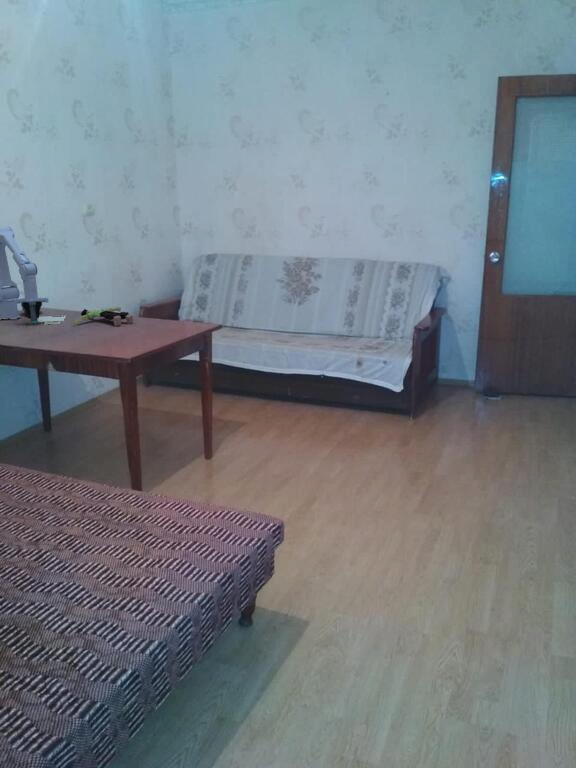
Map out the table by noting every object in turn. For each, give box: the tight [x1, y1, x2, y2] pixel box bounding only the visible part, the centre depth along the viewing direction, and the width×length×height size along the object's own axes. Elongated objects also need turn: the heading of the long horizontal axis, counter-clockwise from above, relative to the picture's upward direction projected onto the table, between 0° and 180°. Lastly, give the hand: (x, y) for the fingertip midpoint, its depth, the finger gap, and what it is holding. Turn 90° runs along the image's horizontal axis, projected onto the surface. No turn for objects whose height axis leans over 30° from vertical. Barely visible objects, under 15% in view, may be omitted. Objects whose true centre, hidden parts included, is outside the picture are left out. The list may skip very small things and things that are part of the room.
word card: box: [43, 321, 61, 326], centre depth 298 cm, size 7×5×1 cm
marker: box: [29, 304, 39, 325], centre depth 295 cm, size 3×3×10 cm
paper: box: [38, 315, 67, 323], centre depth 307 cm, size 14×13×1 cm
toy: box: [71, 306, 134, 327], centre depth 302 cm, size 32×7×30 cm
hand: (33, 318), depth 296 cm, fingers closed on marker, 3 cm apart
